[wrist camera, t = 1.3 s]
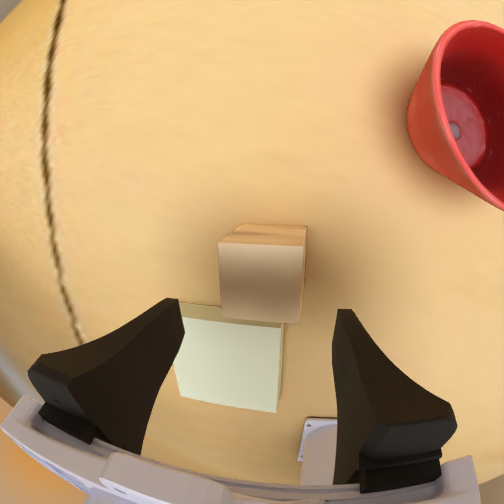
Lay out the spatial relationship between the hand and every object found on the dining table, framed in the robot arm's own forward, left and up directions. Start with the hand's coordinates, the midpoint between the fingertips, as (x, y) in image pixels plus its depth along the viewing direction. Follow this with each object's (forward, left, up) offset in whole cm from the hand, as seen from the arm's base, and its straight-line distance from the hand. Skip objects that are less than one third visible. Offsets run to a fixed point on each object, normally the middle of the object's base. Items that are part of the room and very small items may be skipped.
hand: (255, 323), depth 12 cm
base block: (-10, +5, -11) cm, 16 cm away
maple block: (0, +1, -11) cm, 11 cm away
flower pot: (+11, -13, -11) cm, 20 cm away
